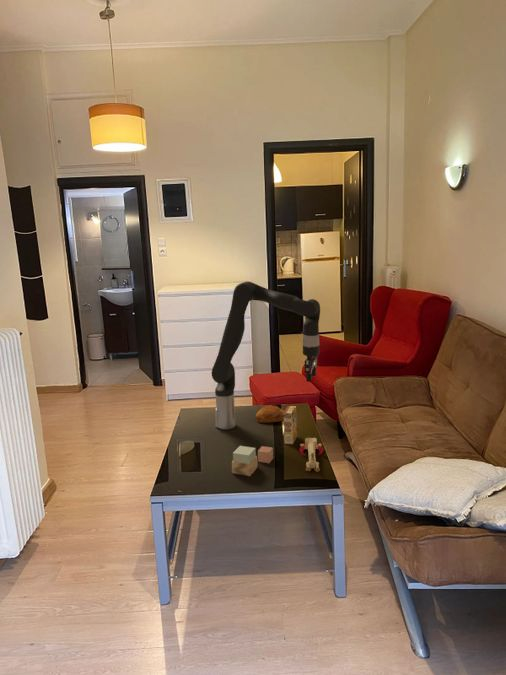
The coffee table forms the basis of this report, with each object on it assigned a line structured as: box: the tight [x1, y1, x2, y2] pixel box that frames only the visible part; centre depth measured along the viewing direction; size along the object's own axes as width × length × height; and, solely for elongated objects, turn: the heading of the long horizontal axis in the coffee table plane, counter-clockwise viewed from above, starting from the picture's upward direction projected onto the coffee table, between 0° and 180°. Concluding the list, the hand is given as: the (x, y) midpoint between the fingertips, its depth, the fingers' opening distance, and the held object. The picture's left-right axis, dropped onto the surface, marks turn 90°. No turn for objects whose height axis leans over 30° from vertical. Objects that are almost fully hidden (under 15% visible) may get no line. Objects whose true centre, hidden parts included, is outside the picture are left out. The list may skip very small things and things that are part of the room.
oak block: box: [231, 455, 258, 477], centre depth 202 cm, size 8×8×5 cm
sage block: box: [232, 445, 257, 464], centre depth 201 cm, size 7×7×4 cm
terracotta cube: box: [257, 445, 274, 464], centre depth 210 cm, size 5×5×5 cm
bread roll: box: [255, 405, 285, 424], centre depth 255 cm, size 14×16×8 cm
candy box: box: [283, 405, 298, 445], centre depth 227 cm, size 9×4×15 cm, turn 162°
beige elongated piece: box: [299, 437, 324, 473], centre depth 210 cm, size 10×9×25 cm
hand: (311, 378), depth 224 cm, fingers open, 8 cm apart
